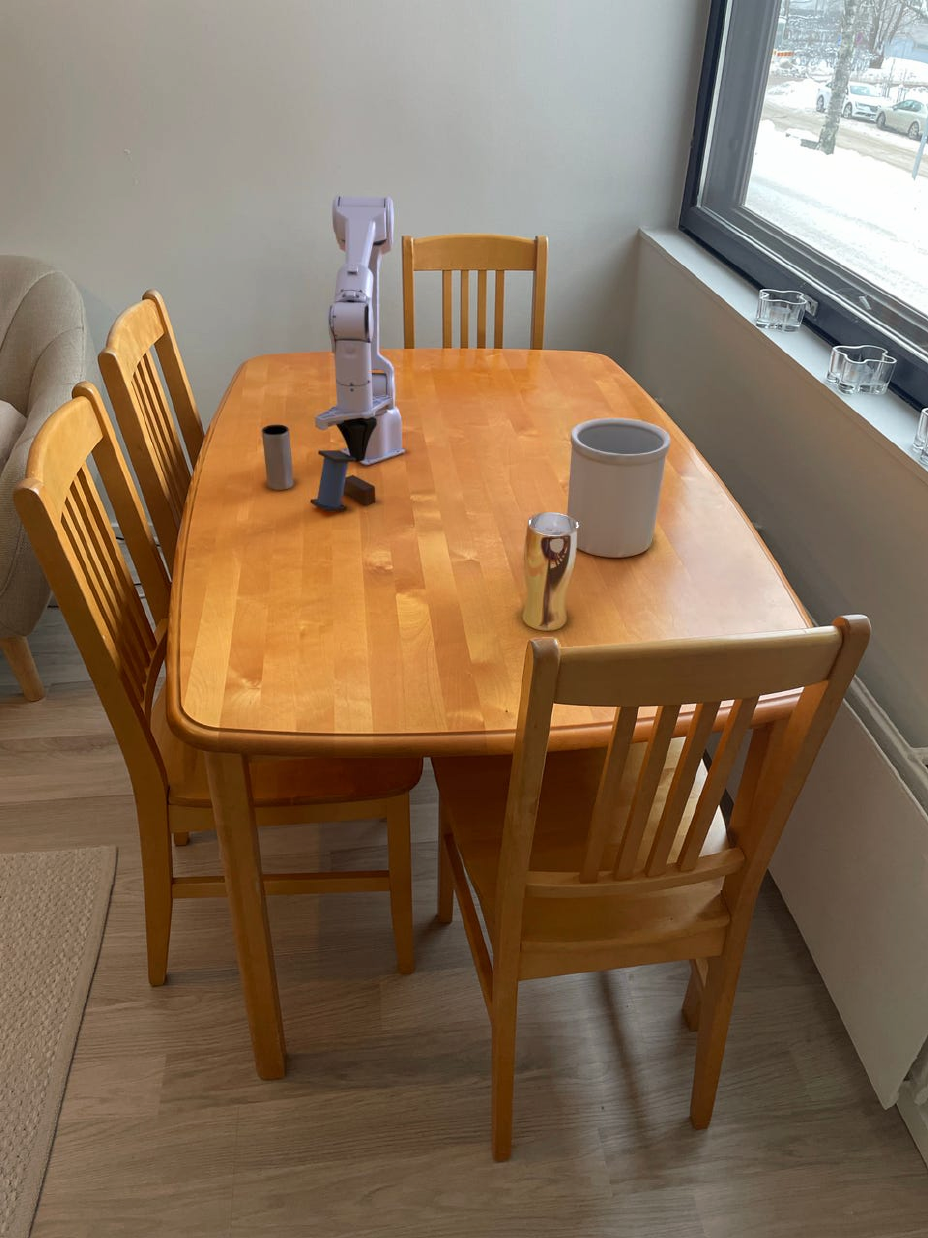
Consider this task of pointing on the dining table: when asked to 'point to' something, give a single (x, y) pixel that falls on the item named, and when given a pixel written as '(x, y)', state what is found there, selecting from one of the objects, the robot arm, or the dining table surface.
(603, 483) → the utensil holder
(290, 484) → the grey hollow cylinder
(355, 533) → the dining table surface
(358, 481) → the block
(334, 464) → the spool
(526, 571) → the beer glass
